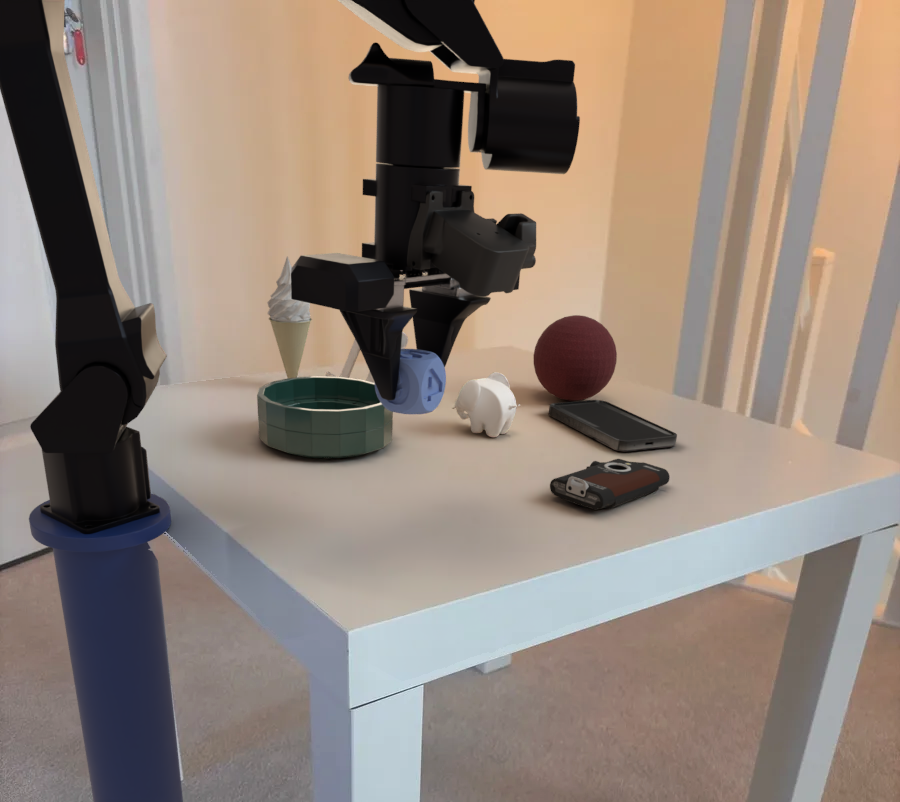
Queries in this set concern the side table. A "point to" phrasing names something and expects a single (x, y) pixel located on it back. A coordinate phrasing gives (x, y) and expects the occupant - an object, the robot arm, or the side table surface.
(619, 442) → the phone
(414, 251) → the robot arm
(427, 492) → the side table surface
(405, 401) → the decorative dice
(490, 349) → the side table surface
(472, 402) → the elephant figurine
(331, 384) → the bowl
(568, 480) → the camera
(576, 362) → the decorative ball
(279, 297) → the ice cream cone
